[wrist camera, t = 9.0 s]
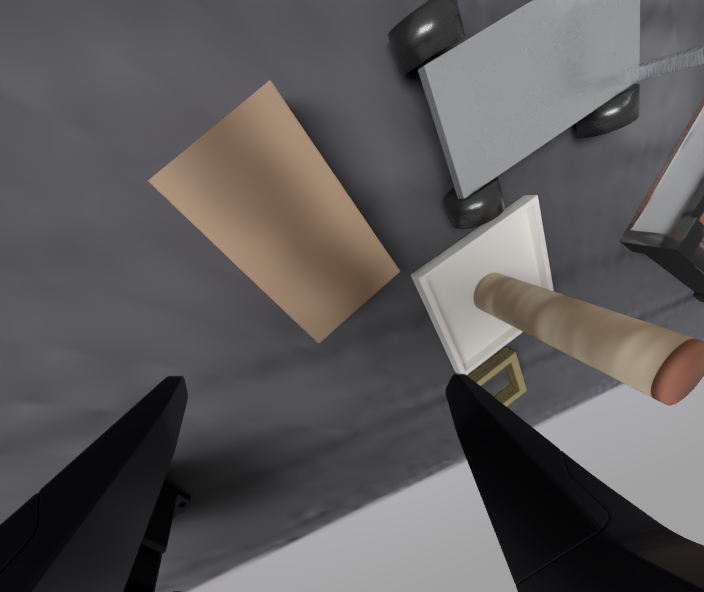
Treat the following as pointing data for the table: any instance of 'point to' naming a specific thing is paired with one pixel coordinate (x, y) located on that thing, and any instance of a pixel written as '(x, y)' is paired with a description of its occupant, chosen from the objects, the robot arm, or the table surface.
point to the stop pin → (598, 337)
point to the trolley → (524, 85)
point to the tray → (469, 268)
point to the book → (676, 212)
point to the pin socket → (512, 366)
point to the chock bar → (279, 213)
